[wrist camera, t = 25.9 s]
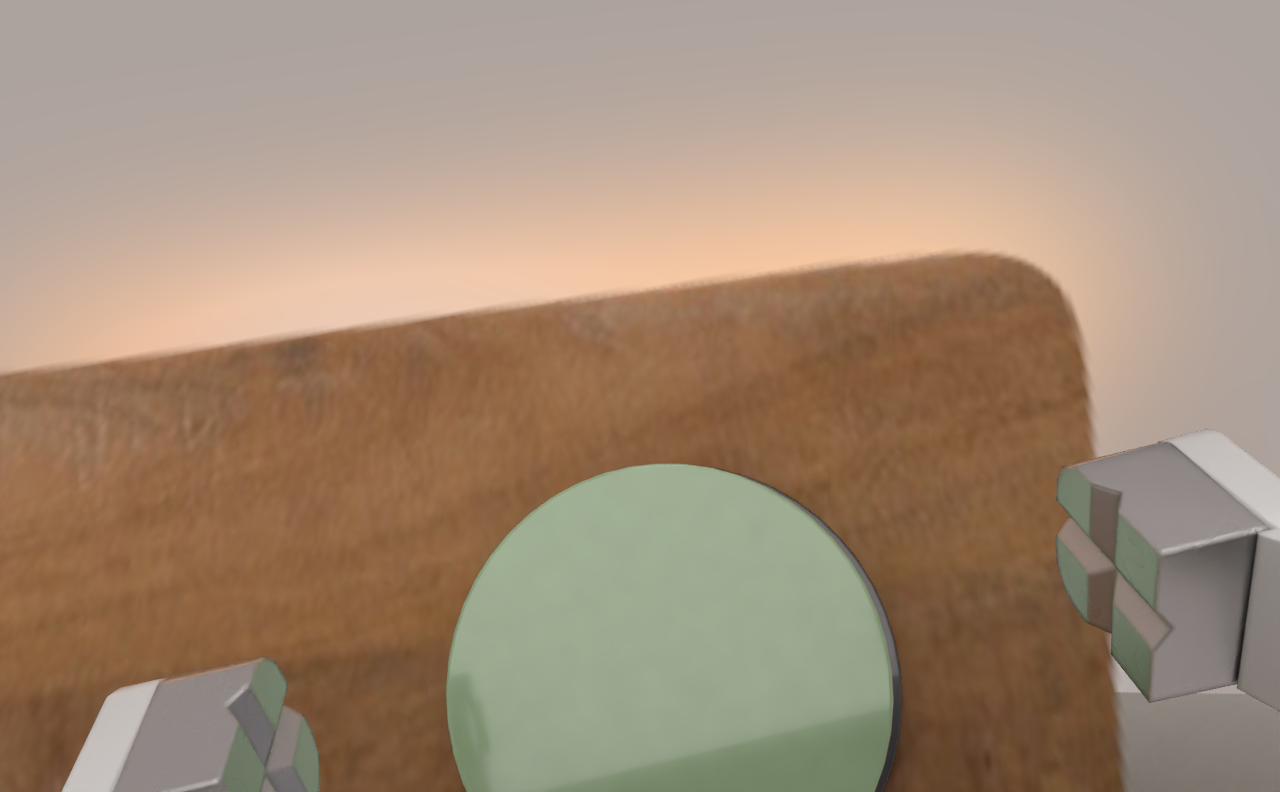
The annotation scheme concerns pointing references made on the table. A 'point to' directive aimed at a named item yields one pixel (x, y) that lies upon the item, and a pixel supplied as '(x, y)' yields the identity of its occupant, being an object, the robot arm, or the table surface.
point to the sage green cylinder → (669, 646)
